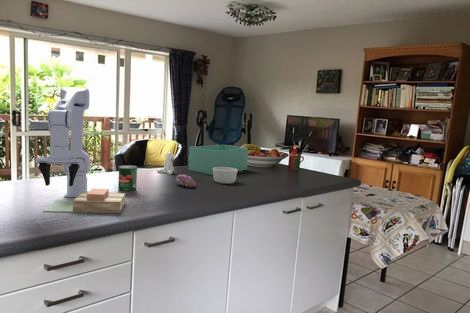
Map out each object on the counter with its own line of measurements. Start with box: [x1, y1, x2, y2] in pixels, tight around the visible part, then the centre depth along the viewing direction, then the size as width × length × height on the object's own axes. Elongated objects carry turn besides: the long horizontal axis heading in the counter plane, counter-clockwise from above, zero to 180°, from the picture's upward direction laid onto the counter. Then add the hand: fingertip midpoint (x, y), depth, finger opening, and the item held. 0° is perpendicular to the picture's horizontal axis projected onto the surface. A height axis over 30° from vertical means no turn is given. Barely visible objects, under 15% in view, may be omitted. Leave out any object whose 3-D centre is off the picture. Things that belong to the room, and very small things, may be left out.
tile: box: [87, 188, 110, 200], centre depth 144 cm, size 9×6×2 cm, turn 8°
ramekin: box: [212, 167, 238, 185], centre depth 207 cm, size 13×13×7 cm
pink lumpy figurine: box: [175, 174, 197, 188], centre depth 190 cm, size 10×5×7 cm, turn 59°
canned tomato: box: [117, 164, 138, 194], centre depth 172 cm, size 8×8×11 cm
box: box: [187, 144, 249, 176], centre depth 242 cm, size 21×32×14 cm, turn 140°
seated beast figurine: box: [156, 151, 176, 175], centre depth 223 cm, size 10×9×12 cm
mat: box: [42, 199, 74, 213], centre depth 142 cm, size 15×10×1 cm, turn 8°
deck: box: [72, 192, 126, 214], centre depth 144 cm, size 14×16×4 cm
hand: (59, 185), depth 132 cm, fingers open, 7 cm apart
